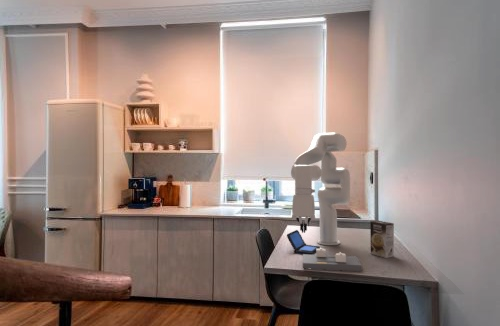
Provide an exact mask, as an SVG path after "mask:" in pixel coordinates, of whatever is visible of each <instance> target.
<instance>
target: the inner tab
mask: <svg viewBox="0 0 500 326" xmlns="http://www.w3.org/2000/svg"><path fill="white" fill-rule="evenodd" d="M326 251H327V249H326V248H322V247H321V246H320V249H316V252H315V255H316V257H326V255H327V254H326Z"/></svg>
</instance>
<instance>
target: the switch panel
mask: <svg viewBox="0 0 500 326" xmlns="http://www.w3.org/2000/svg"><path fill="white" fill-rule="evenodd" d="M303 268H311V269H310V270H316V269H326V270H325V271H340V270H342V272H343V271H345V272H362V264H361V262H360V260H359V258H358V256H357V255H346V262H336V254H335V255H334V254H333V255H332V254H331V255H329V254H326V257H316V254H312V255H308V254H302V269H303Z"/></svg>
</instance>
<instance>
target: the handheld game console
mask: <svg viewBox="0 0 500 326" xmlns="http://www.w3.org/2000/svg"><path fill="white" fill-rule="evenodd" d="M286 237H287V239H288V241H289V244H290V245H291V247H292V249H293V253H294V254H300V255H303V254H308V255H315V254H316V249H320V247H321V246H319V245H312V244H307V243H306V242H305V241H304V239H303V237H302V235H301V233H300V231H299V230H297V229H296V230H294V231H291V232H289V233H287V234H286Z"/></svg>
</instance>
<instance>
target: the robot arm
mask: <svg viewBox="0 0 500 326" xmlns="http://www.w3.org/2000/svg"><path fill="white" fill-rule="evenodd" d="M346 148H347V140H346V138H345V136H343V135H342V134H340V133H337V132H322V133H321V132H320V133H317V134H315V135H314V136H313V139H312V141H311V143H310V145H309V148H308V149H307V150H306V151H304V152H303V153H301V154H300V155H298V156H297V157H296V159H295V160H294V161H293V164H292V167H291V170H290V175H291V178H292V179H293V180H294V191H295V193H294V194H293V195H292V196H293V197H292V203H291V204H292V207H291V208H292V209H291V213H292V215H291V219H292V220H295V221H297V222H298V223H299V226H300V227H299V229H300V231H301V233H302V234H303V233H304V234H305V233H306V232H307V231H308V229H307V228H308V223H309V222H310V221H313V220H316V216H315V215H316V212H315V210H316V207H315V197H314V193H316V190H315V189H313V187H312V184H313V182H312V181H318V180H320V179H321V183H322V184H324V185H329V186H323V187H319V189H318V190H317V199H318V206H319V207H318V208H319V238H318V239H316V242H317V243H318V244H319V245H322V246H338V245H340V244H341V242H340V240H339V239H338V213H337V209H336V208H335V206H334V205H339V206H340V205H344V206H345V205H348V204H349V203H350V201H351V174H350V170H348V168H345V167H337V157H336V156H335V155H334V154H333V153H332V152H344V151H345V150H346ZM319 162H320V165H321V166H319V165H317V164H315V163H319ZM330 185H331V186H330ZM332 185H334V186H332ZM337 185H338V187H337ZM335 186H336V187H335ZM339 186H340V187H339ZM303 218H304V221H303Z"/></svg>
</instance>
